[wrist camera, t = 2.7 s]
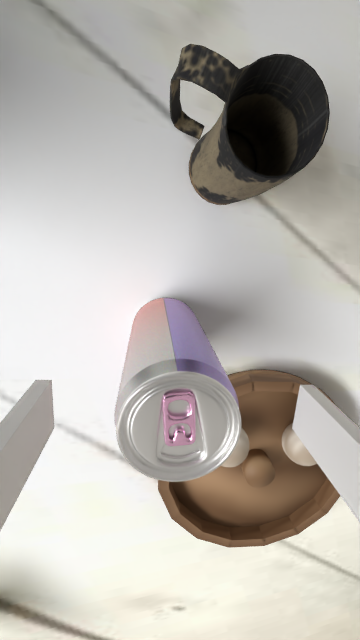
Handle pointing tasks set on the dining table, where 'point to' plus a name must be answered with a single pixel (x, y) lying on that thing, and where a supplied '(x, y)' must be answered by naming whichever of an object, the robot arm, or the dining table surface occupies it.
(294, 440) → the bead
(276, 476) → the tray
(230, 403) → the beverage can
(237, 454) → the bead
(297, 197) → the dining table surface
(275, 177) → the mug
